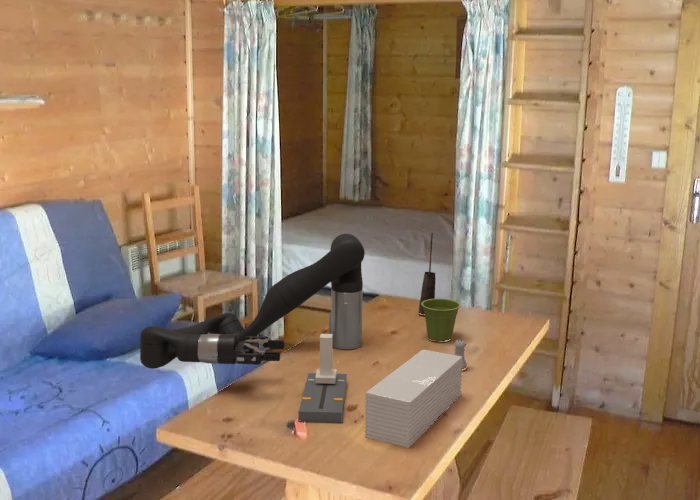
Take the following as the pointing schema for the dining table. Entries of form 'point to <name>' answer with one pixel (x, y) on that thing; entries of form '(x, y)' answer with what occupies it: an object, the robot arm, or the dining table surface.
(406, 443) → the stack of papers
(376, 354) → the dining table surface
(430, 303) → the plant pot
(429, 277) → the butter churn
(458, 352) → the rook chess piece
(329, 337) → the fader tab
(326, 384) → the fader console
